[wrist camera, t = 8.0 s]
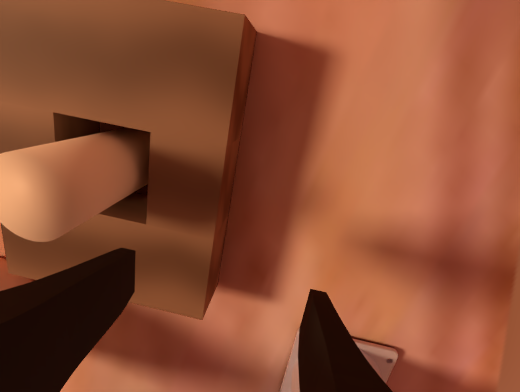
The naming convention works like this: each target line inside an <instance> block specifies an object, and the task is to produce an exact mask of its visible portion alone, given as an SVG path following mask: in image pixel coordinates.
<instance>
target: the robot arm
mask: <svg viewBox="0 0 520 392" xmlns="http://www.w3.org/2000/svg"><path fill="white" fill-rule="evenodd" d="M135 254H136V251H135V250H131V249H126V248H122V247H121V248H118V249H115V250H113V251H110V252H108V253H105V254H103V255H100V256H98V257H95V258H93V259H90V260H88V261H85V262H83V263H81V264H78V265H76V266H73V267H71V268H68V269H65V270H63V271H60V272H57V273H55V274H52V275H49V276H46V277H44V278H41V279H38V280H35V281H32V282H29V283H26V284H23V285H19V286H16V287H13V288H9V289H6V290H2V291H0V392H60V391H61V389H62V388H63V386H64V385H65V383H66V382H67V380H68V379H69V377H70V376H71V375H72V373H73V372H74V371H75V369H76V368H77V367H78V365H79V364H80V363H81V362H82V360H83V359H84V358H85V357H86V356H87V354H88V353H89V352H90V351H91V350H92V348H93V347H94V346H95V345H96V344H97V342H98V341H99V340H100V339H101V337H102V336H103V335H104V334H105V333H106V331H107V330H108V329H109V328H110V327H111V325H112V324H113V323H114V322H115V320H116V319H117V318H118V317H119V315H120V314H121V313H122V311H123V310H124V308H125V307H126V305H127V304H128V302H129V300H130V299H131V297H132V295H133V294H134V292H135ZM397 359H398V353H397V350H396V349H394V348H391V347H386V346H382V345H378V344H374V343H369V342H365V341H361V340H357V339H353V338H352V337H351V335H350V334H349V332H348V330H347V329H346V327H345V326H344V324H343V322H342V320H341V319H340V317H339V315H338V313H337V311H336V310H335V308H334V306H333V304H332V302H331V300H330V298H329V297H328V295H327V293H326V292H322V291H317V290H313V289H310V292H309V296H308V300H307V303H306V307H305V311H304V315H303V318H302V322H301V326H300V328H299V329H298V330H297V333H296V336H295V340H294V343H293V347H292V350H291V354H290V357H289V361H288V364H287V368H286V371H285V374H284V378H283V381H282V385H281V388H280V392H392V390H391V389H390V388H389V387H388V386H387V385H386V382H387V380H388V378H389V376H390V374H391V372H392V369H393V367H394V365H395V363H396V361H397Z"/></svg>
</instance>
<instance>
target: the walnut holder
mask: <svg viewBox="0 0 520 392" xmlns="http://www.w3.org/2000/svg"><path fill="white" fill-rule="evenodd" d="M256 33H257V31H256V30H255V29H254V27H253V26H252V24H251V23H250V21H249V20H248V19H247V17H246V16H245V15H244V14H238V13H232V12H227V11H221V10H216V9H210V8H204V7H199V6H193V5H188V4H182V3H176V2H171V1H165V0H0V154H1V153H4V152H9V151H14V150H19V149H24V148H28V147H33V146H38V145H43V144H48V143H53V142H58V141H63V140H68V139H73V138H78V137H83V136H87V135H92V134H97V133H100V122H104V123H109V124H113V125H118V126H123V127H128V128H133V129H138V130H143V131H148V132H151V133H150V155H149V176H148V196H145V195H141V194H136V193H132V194H130V195H128V196H127V197H125V198H123V199H122V200H120V201H118V202H117V203H115V204H114V205H112V206H110V207H109V208H107V209H105V210H104V211H102V212H100V213H99V214H97V215H95V216H94V217H92V218H90V219H89V220H87V221H85V222H84V223H82V224H80V225H79V226H77V227H75V228H74V229H72V230H70V231H69V232H67V233H65V234H64V235H62V236H60V237H59V238H57V239H55V240H52V241H48V242H36V241H31V240H27V239H24V238H22V237H20V236H18V235H16V234H14V233H13V232H11V231H10V230H9V229H7V228H6V227H5V226H4V225H3V224H2V223H1V228H2V234H3V241H4V248H5V255H6V261H7V268H8V273H9V274H13V275H17V276H21V277H26V278H30V279H34V280H38V279H41V278H44V277H46V276H49V275H52V274H55V273H57V272H60V271H63V270H65V269H68V268H71V267H73V266H76V265H78V264H81V263H83V262H85V261H88V260H90V259H93V258H95V257H98V256H100V255H103V254H105V253H108V252H110V251H113V250H115V249H118V248H121V247H122V248H126V249H131V250H135V251H136V254H135V292H134V294H133V295H132V297H131V299H130V300H129V303H134V304H138V305H142V306H146V307H150V308H154V309H159V310H163V311H167V312H171V313H175V314H179V315H183V316H188V317H192V318H196V319H200V320H203V317H204V315H205V312H206V310H207V308H208V305H209V303H210V301H211V298H212V296H213V294H214V291H215V289H216V287H217V284H218V279H219V272H220V266H221V260H222V253H223V247H224V240H225V234H226V227H227V221H228V214H229V208H230V201H231V195H232V188H233V182H234V175H235V169H236V162H237V156H238V149H239V143H240V137H241V130H242V124H243V117H244V111H245V104H246V98H247V91H248V85H249V78H250V72H251V65H252V59H253V52H254V46H255V39H256Z"/></svg>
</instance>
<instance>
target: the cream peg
mask: <svg viewBox="0 0 520 392" xmlns="http://www.w3.org/2000/svg"><path fill="white" fill-rule="evenodd" d="M150 133H151V132H148V131H143V130H138V129H133V128H128V127H127V128H122V129H117V130H112V131H107V132H102V133H97V134H92V135H87V136H83V137H78V138H73V139H68V140H63V141H58V142H53V143H48V144H43V145H38V146H33V147H28V148H24V149H19V150H14V151H9V152H4V153H1V154H0V222H1V223H2V224H3V225H4V226H5V227H6V228H7V229H9V230H10V231H11V232H13V233H14V234H16V235H18V236H20V237H22V238H24V239H27V240H31V241H36V242H48V241H52V240H55V239H57V238H59V237H60V236H62V235H64V234H65V233H67V232H69V231H70V230H72V229H74V228H75V227H77V226H79V225H80V224H82V223H84V222H85V221H87V220H89V219H90V218H92V217H94V216H95V215H97V214H99V213H100V212H102V211H104V210H105V209H107V208H109V207H110V206H112V205H114V204H115V203H117V202H118V201H120V200H122V199H123V198H125V197H127V196H128V195H130V194H132V193H133V192H135V191H137V190H138V189H140V188H142V187H143V186H145V185H147V184H148V176H149V155H150Z"/></svg>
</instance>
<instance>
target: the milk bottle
mask: <svg viewBox="0 0 520 392" xmlns="http://www.w3.org/2000/svg"><path fill="white" fill-rule="evenodd" d="M32 281H34V280H33V279H30V278H26V277H21V276H17V275H13V274H9V273H8V268H7V261H6V259H4V258H0V291H2V290H6V289H9V288H13V287H16V286H19V285H23V284H26V283H29V282H32Z"/></svg>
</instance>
